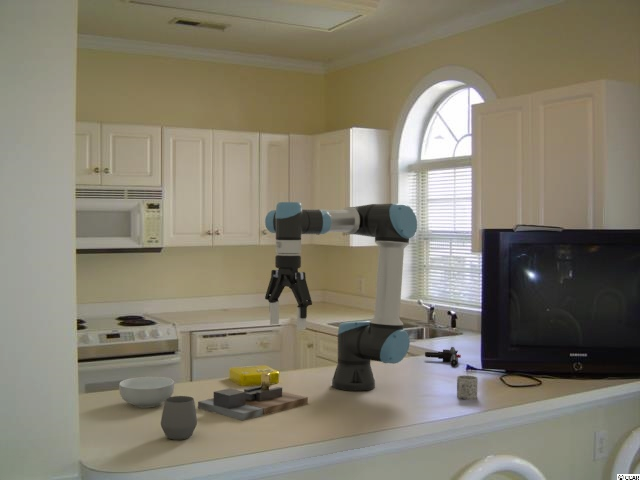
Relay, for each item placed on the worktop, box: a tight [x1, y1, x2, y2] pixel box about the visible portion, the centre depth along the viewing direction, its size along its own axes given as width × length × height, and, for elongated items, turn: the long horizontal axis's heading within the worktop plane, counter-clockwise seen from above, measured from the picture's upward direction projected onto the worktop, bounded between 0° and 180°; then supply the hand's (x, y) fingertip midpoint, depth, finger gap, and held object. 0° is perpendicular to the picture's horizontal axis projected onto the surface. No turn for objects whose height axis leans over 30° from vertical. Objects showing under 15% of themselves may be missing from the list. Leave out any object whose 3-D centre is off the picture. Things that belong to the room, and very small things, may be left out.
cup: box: [160, 395, 198, 441], centre depth 187 cm, size 10×9×10 cm
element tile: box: [228, 364, 280, 387], centre depth 259 cm, size 15×15×5 cm
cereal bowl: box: [118, 376, 175, 408], centre depth 221 cm, size 17×17×7 cm
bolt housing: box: [213, 385, 283, 409], centre depth 220 cm, size 22×7×4 cm, turn 139°
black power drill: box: [424, 346, 462, 367], centre depth 303 cm, size 5×20×15 cm
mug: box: [456, 374, 478, 400], centre depth 237 cm, size 10×7×7 cm, turn 145°
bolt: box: [245, 373, 271, 401], centre depth 223 cm, size 10×3×7 cm, turn 139°
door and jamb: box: [197, 391, 309, 421], centre depth 221 cm, size 28×20×2 cm
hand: (287, 326), depth 209 cm, fingers open, 13 cm apart
